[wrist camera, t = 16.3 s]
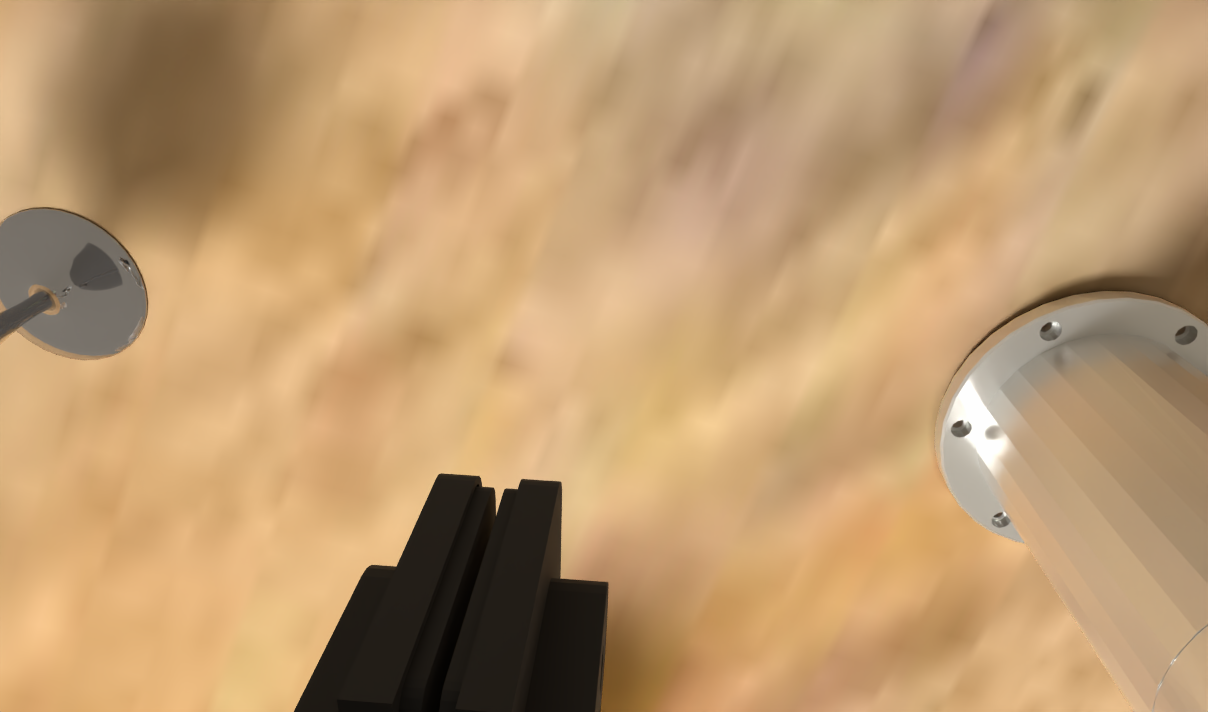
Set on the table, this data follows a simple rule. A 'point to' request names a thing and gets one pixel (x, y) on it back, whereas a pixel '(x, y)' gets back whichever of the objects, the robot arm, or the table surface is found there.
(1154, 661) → the robot arm
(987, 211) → the table surface
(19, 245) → the wine glass
